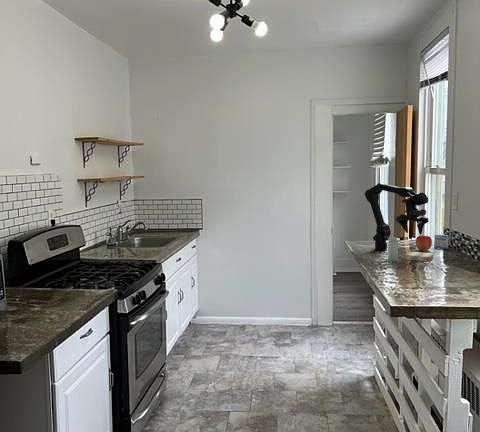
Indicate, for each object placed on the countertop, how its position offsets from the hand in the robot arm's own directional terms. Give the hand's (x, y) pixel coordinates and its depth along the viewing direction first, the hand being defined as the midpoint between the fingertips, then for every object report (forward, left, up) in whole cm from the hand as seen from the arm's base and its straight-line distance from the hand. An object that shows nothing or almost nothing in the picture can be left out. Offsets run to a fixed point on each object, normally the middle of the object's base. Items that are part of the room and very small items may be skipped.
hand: (413, 233), depth 273 cm
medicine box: (+10, +40, -14) cm, 44 cm away
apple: (+2, +24, -14) cm, 28 cm away
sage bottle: (-8, -16, -14) cm, 23 cm away
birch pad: (+4, -3, -14) cm, 15 cm away
